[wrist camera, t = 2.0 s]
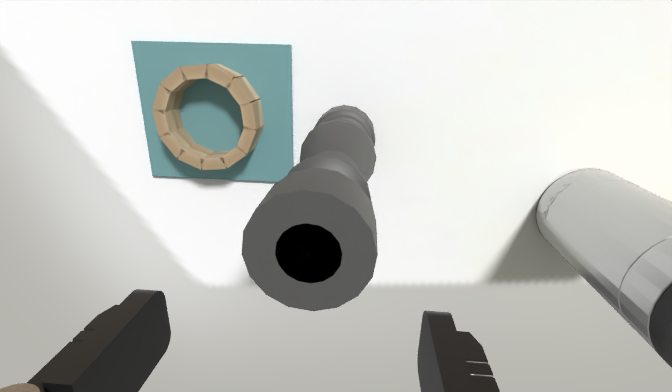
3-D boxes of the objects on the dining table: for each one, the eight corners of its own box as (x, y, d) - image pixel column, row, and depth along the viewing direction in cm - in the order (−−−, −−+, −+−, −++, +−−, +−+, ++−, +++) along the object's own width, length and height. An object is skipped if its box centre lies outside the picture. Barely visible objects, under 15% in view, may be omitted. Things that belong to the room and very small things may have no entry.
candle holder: (303, 136, 39) (206, 254, 16) (343, 91, 37) (300, 150, 14) (346, 175, 40) (315, 339, 17) (387, 134, 38) (415, 254, 15)
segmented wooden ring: (277, 92, 37) (270, 95, 34) (243, 176, 41) (234, 185, 38) (185, 46, 36) (169, 45, 34) (158, 136, 40) (142, 142, 37)
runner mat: (291, 44, 36) (290, 44, 36) (293, 181, 41) (293, 182, 41) (133, 41, 37) (131, 41, 37) (154, 174, 42) (152, 175, 42)
